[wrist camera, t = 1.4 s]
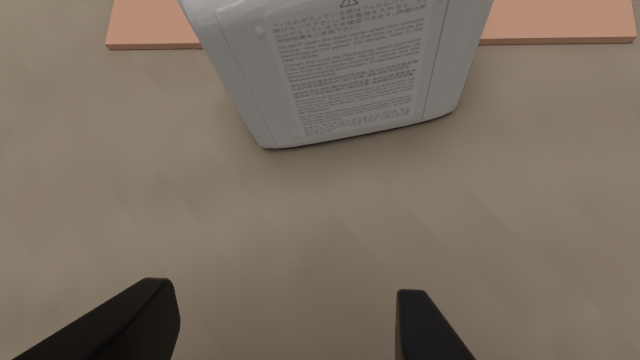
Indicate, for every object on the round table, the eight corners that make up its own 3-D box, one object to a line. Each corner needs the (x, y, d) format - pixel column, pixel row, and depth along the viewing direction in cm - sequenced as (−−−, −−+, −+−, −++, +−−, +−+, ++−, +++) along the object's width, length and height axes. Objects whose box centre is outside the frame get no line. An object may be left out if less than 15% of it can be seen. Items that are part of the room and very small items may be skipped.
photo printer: (446, 41, 24) (508, -236, 13) (469, 118, 23) (562, -113, 11) (242, 83, 25) (124, -145, 13) (253, 162, 24) (130, -17, 12)
